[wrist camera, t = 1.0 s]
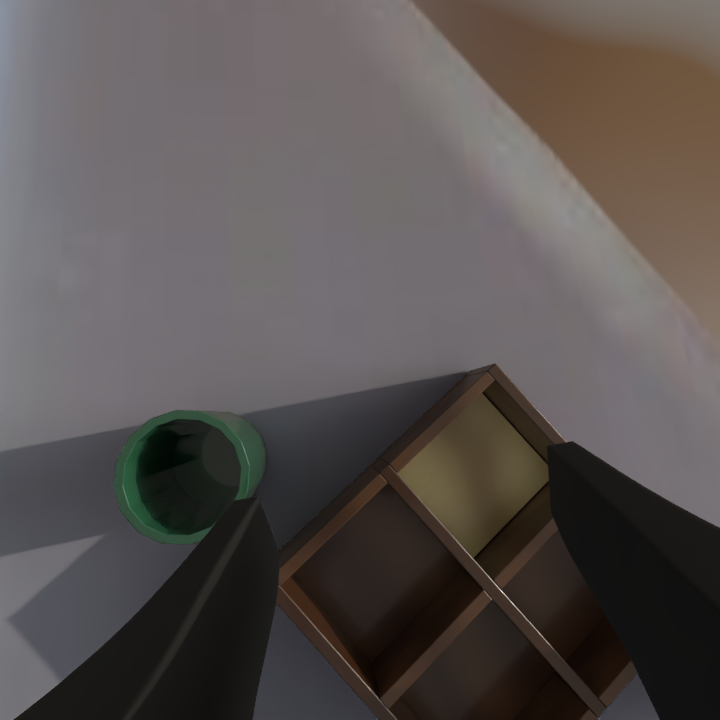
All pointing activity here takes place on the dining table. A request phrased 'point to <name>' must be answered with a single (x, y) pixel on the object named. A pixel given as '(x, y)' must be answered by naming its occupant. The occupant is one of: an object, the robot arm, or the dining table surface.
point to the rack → (456, 574)
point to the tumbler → (187, 473)
